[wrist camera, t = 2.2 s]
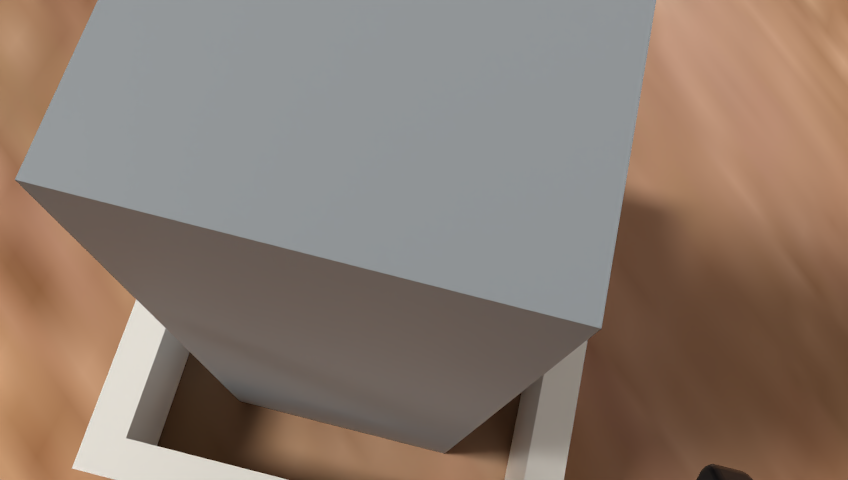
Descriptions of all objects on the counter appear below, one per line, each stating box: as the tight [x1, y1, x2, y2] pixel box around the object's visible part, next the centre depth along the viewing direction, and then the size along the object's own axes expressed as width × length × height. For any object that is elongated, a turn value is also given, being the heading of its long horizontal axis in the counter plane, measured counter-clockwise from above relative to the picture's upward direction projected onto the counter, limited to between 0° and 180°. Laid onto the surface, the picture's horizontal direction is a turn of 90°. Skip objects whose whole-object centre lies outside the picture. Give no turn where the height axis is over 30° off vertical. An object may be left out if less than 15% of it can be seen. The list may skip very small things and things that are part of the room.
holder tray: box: [72, 299, 588, 480], centre depth 18 cm, size 10×10×2 cm
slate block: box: [15, 0, 656, 454], centre depth 14 cm, size 5×5×13 cm
